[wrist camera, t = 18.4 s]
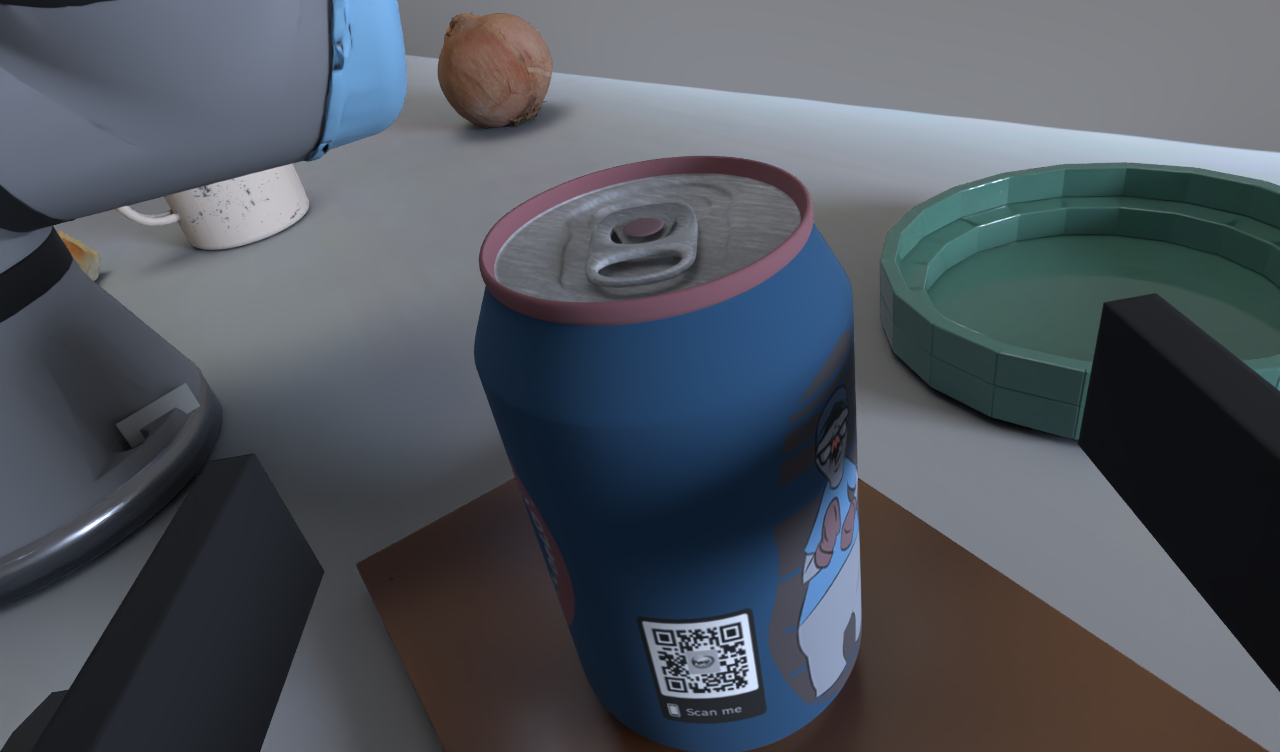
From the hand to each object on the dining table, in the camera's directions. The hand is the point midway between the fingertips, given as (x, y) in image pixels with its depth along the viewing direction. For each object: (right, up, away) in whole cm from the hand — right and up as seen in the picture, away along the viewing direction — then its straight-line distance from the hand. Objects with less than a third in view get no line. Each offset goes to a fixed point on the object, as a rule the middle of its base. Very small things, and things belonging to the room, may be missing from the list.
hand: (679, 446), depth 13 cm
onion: (-12, +23, +55) cm, 61 cm away
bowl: (+17, +3, +18) cm, 25 cm away
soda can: (+1, -6, +8) cm, 10 cm away
